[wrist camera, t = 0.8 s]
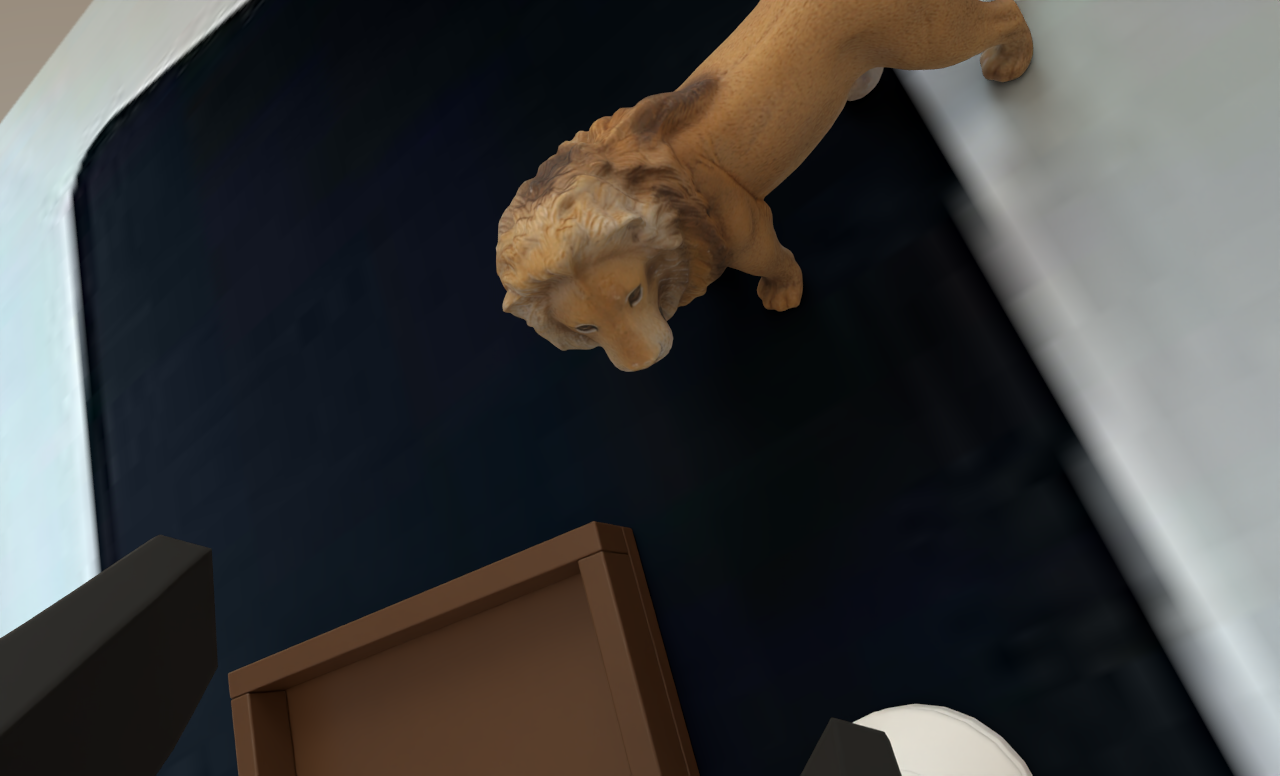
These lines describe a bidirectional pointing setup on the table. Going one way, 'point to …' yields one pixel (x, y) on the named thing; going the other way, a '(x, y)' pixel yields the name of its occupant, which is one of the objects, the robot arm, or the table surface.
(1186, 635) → the table surface
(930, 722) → the chess pawn
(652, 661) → the tray
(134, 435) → the table surface
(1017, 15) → the lion figurine
